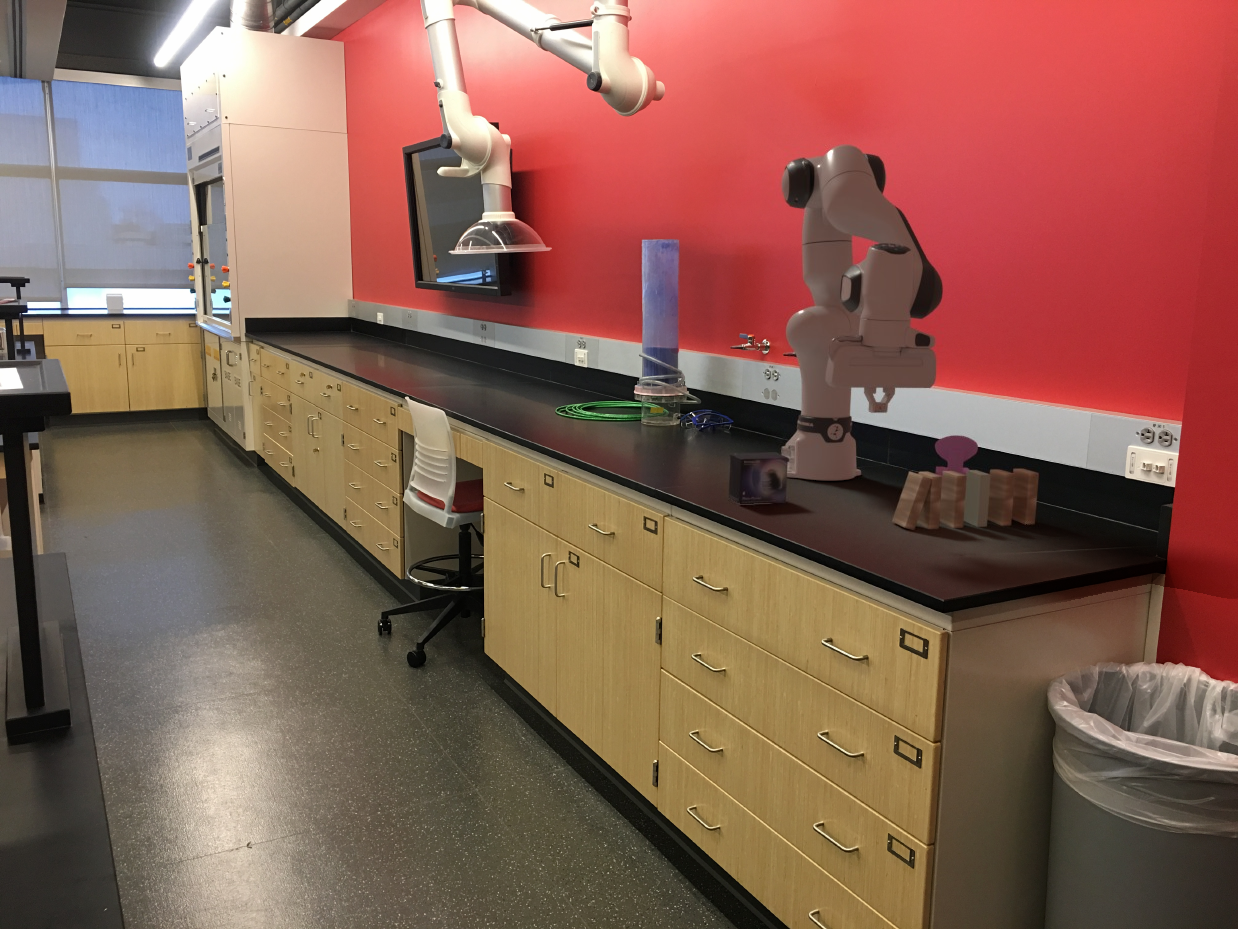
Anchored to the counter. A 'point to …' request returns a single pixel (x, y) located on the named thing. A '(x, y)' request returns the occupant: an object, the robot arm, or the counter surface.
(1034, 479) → the domino
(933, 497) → the domino
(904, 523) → the domino
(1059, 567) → the counter surface
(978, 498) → the domino
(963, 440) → the toy chair
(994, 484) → the domino
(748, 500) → the small box
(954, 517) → the domino
